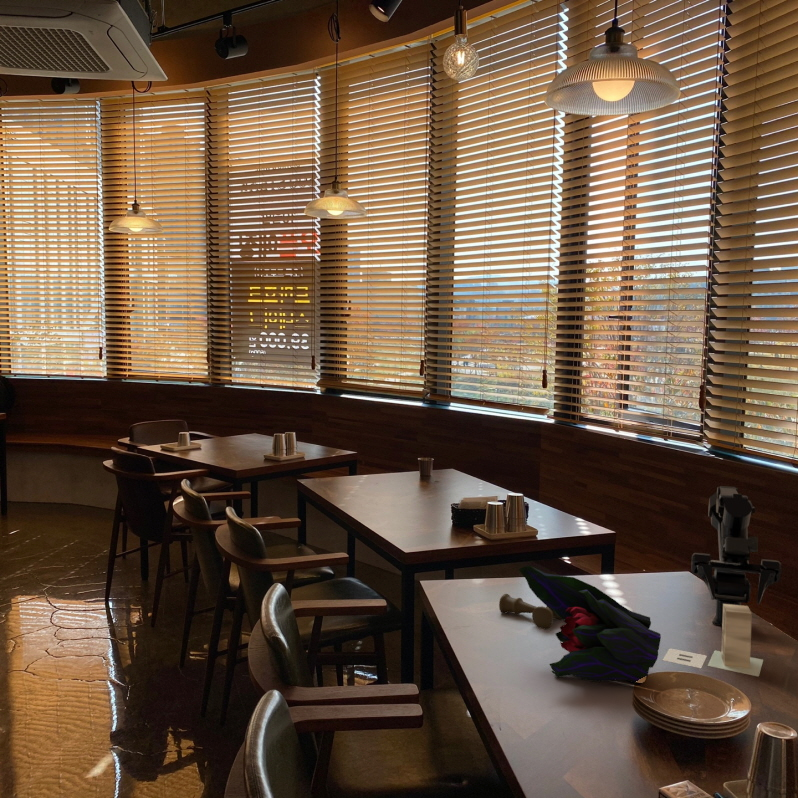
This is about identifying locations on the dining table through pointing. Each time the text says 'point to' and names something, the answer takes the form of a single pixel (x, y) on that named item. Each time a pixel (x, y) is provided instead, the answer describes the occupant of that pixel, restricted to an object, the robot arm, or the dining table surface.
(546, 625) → the kendama
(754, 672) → the green mat
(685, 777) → the dining table surface
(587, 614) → the decorative plant
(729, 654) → the maple block
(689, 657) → the tile
